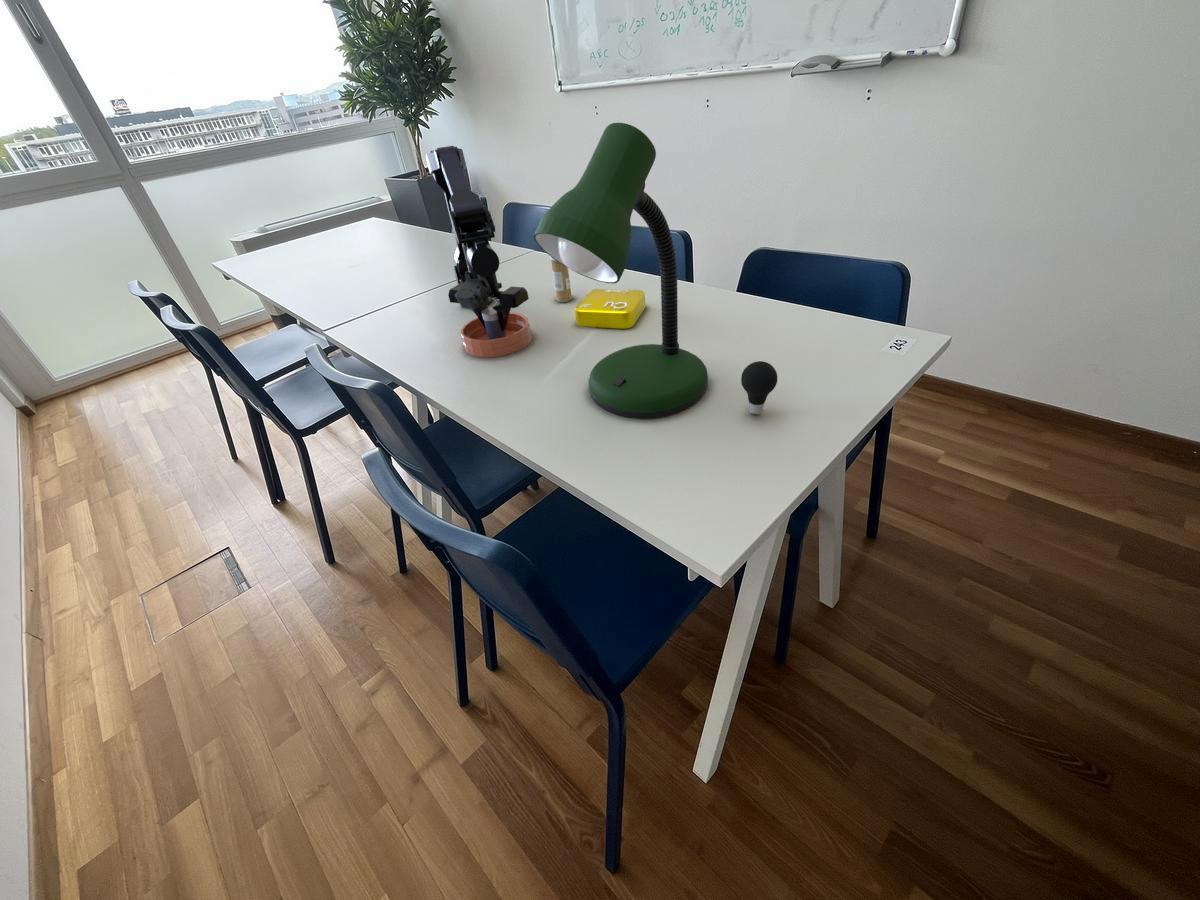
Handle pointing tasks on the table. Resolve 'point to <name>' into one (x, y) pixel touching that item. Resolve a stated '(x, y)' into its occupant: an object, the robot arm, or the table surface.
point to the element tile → (610, 308)
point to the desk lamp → (600, 252)
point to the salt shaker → (492, 324)
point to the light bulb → (758, 384)
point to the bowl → (482, 347)
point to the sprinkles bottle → (561, 281)
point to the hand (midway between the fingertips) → (495, 329)
